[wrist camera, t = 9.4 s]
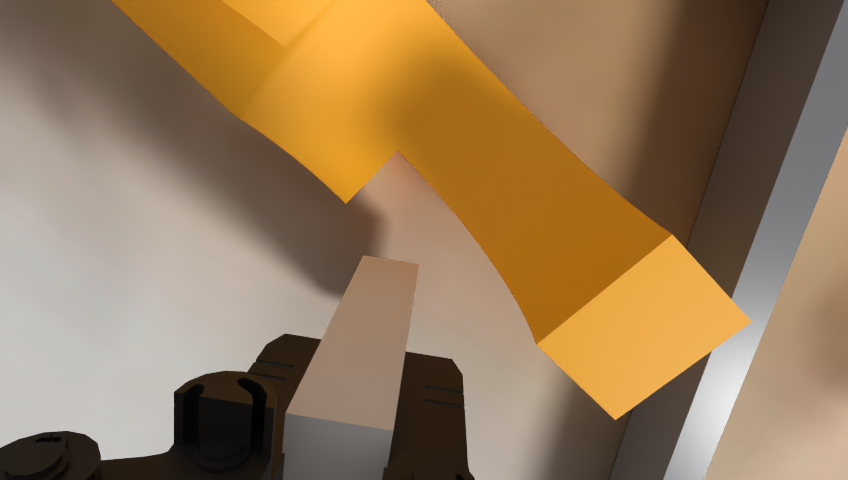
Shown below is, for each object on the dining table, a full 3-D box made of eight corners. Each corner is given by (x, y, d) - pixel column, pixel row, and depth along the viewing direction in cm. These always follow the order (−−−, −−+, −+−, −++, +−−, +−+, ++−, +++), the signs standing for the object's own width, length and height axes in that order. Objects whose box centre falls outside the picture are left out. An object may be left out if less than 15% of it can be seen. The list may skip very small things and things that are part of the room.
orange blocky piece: (178, 7, 12) (-87, -72, 6) (285, -138, 11) (91, -408, 5) (498, 313, 15) (534, 478, 8) (613, 214, 13) (752, 322, 7)
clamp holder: (272, 535, 17) (236, 627, 14) (319, -159, 11) (271, -250, 8) (602, 588, 17) (632, 691, 14) (841, -79, 11) (985, -140, 8)
